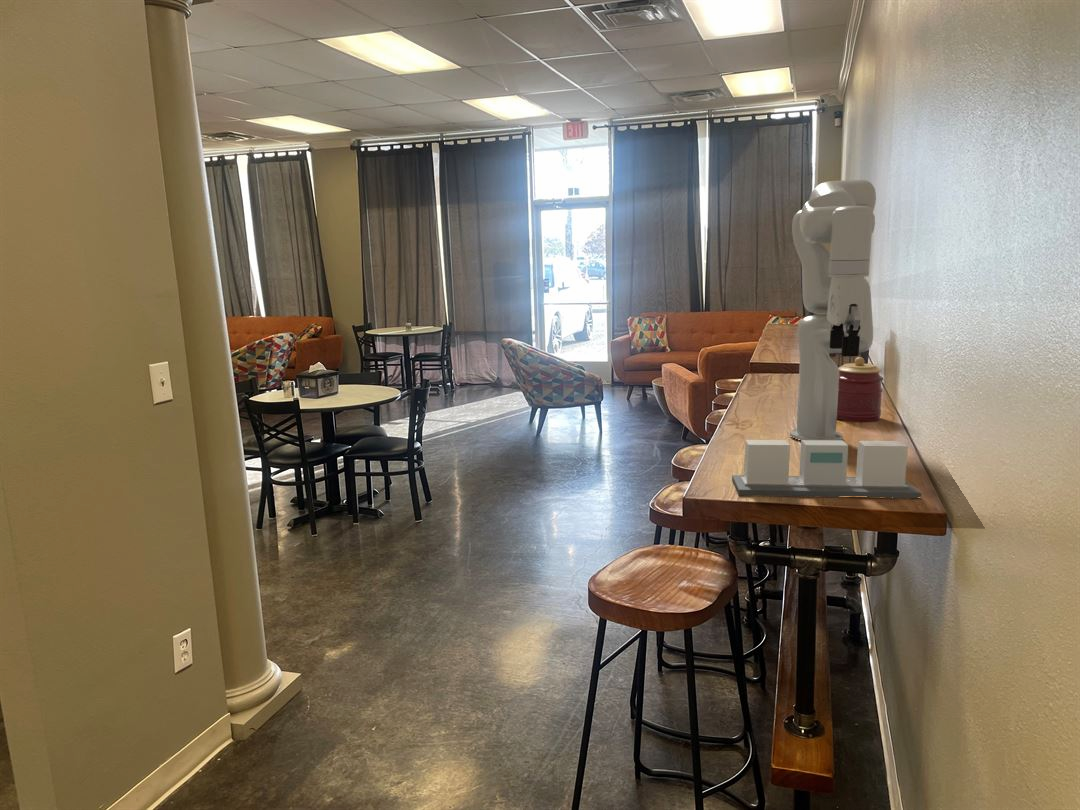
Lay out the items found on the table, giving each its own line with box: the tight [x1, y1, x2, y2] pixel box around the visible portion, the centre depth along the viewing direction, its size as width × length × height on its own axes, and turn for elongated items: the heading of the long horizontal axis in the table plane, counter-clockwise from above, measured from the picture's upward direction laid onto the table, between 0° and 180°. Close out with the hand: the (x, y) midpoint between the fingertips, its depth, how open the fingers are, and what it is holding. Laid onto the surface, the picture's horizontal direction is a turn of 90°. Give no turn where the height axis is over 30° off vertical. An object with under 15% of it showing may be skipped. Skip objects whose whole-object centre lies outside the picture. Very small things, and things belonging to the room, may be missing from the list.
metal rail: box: [741, 477, 908, 489], centre depth 146 cm, size 5×31×1 cm, turn 83°
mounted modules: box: [743, 439, 909, 486], centre depth 145 cm, size 4×30×8 cm, turn 83°
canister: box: [837, 356, 885, 423], centre depth 208 cm, size 13×13×18 cm
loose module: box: [798, 439, 849, 485], centre depth 145 cm, size 4×8×8 cm, turn 83°
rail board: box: [731, 474, 922, 499], centre depth 146 cm, size 10×34×1 cm, turn 83°
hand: (843, 352), depth 152 cm, fingers open, 9 cm apart
